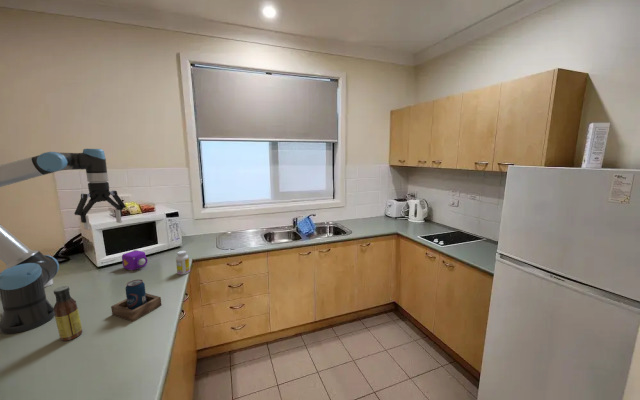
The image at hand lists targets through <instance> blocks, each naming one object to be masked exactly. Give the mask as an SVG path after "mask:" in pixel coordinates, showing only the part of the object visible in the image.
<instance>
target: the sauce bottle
mask: <svg viewBox="0 0 640 400" xmlns="http://www.w3.org/2000/svg"><path fill="white" fill-rule="evenodd" d="M53 294H54V296H55V301H56V302H55V304H54V305H53V308H54V313H55V316H54V318H55V322H56V327H57V331H58V335H59V338H60V339H61V341H63V342H64V341H65V342H67V341H70V340H74V339H76V338H78V337H80V336H81V335H82V333H83V326H82V321H81V316H80V311H79V308H78V305H77V301H76V300H75V299H74V298H72V297H71V293H70V287H69V286H68V285H65V286H59V287H57V288H55V289H54V290H53Z"/></svg>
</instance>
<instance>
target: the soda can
mask: <svg viewBox="0 0 640 400" xmlns="http://www.w3.org/2000/svg"><path fill="white" fill-rule="evenodd" d="M124 289H125V295H126V299H127V306H128V309H131V310H134V309H136V308H138V307H139V306H141V305H143V304H145V303H147V301H146V293H147V292H146V286H145V282H144V281H143V279H134V280H131V281H128V282H127V283H126V286H125V288H124Z"/></svg>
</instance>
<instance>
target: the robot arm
mask: <svg viewBox="0 0 640 400" xmlns="http://www.w3.org/2000/svg"><path fill="white" fill-rule="evenodd" d="M107 168H108V167H107V158H106V153H105V150H104V149H102V148H84V149H82V152H57V151H47V152H43V153H41V154H39V155H35V156H31V157H28V158H27V157H26V158H24V159H19V160H16V161H11V162H6V163H3V164H0V188H2V187H3V188H4V187H6V186H10V185H13V184H17V183H20V182H24V181H28V180H30V179H34V178H38V177H41V176H42V177H43V176H45V175H48V174H53V173H56V172H61V171H68V170H69V171H70V170H71V171H73V170H76V171H77V170H85V174H86V181H87V182H88V183H87V189H88V193H80V199H79V202H78V205H77V207H76V209H75V212H74V215H75V216H79V217H80V222H81V223H82V224H83V227H84V230H87V231H88V230H90V229H91V228H90V227H91V226H90V219H89V218H90V217H89V215H87V214H89V212H90V211H91V209H92V208H93V206H94V205H95V204H96V203H101V202H107V203H109V204H110V206H113V207H114V208H115V210H114V213H115V220H116V223H117V224H118V223H119V224H121V223H122V222H123V221H122V216H123V210H124V208H126V207H127V206H126V204H125V203H124V202H123V200H122V199H121V198H120V196H119V194H118V191H117V190H110V184H109V182H108V181H109V176H108V169H107ZM110 196H112V198H111V197H110ZM88 198H90V199H89V200H88ZM87 200H88V201H87ZM114 200H115V201H114ZM86 203H87V204H86ZM0 260H1V261H2V263H4V264H5V269H3V270H2V271H0V300H1V306H2V310H3V312H2V314H1V315H2V316H1V319H0V333H1V334H5V335H11V334H12V335H13V334H17V333H22V332H26V331H29V330H32V329H35V328H38V327H40V326H42V325H45V323H47V322H49V321H50V320H52V319H54V318H55V313H54V306H53V305H52V304H51V303H50V301H48V299H47V293H46V290H45V288H46V287H44V286H45V285H46V284H47V283H48V282H49V281H50V280H51V279H52V278H55V277H56V275H57V273H58V272H59V269H60V265H59V261H58V260H57V258H55V257H54V256H51V255H46V254H43V253H42V252H41V251H40V250H35V249H30V248H29V247H28V246H27V245H26V244H25V243H23V242H22V241H21V240H20V239H19V238H17V236H15V235H14V234H13V233H11V232H10V231H9V230H8V229H7V228H6V227H4V226H3V225H2V224H0Z"/></svg>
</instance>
